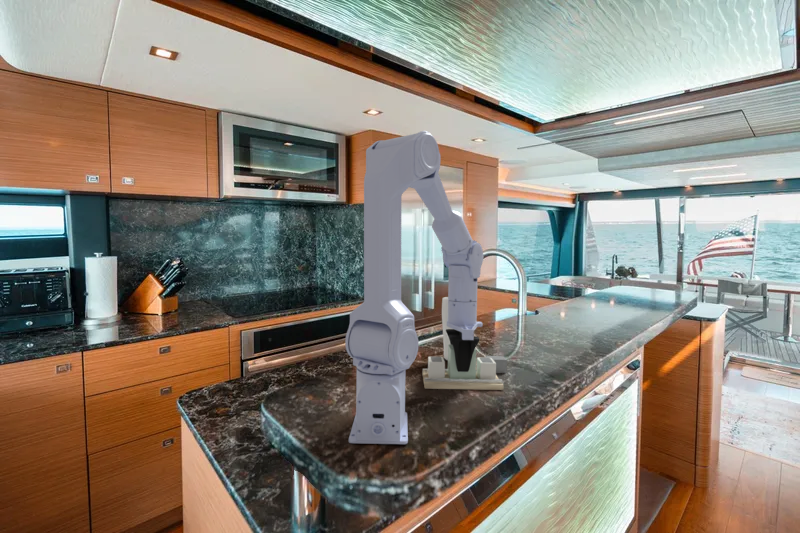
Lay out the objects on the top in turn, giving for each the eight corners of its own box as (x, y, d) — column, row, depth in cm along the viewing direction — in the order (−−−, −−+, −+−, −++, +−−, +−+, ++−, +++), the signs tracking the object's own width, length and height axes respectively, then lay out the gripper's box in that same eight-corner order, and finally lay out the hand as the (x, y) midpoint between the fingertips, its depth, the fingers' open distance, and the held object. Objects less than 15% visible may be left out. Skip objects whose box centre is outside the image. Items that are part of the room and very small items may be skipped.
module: (475, 380, 74) (476, 349, 73) (450, 379, 74) (450, 348, 73) (471, 373, 78) (472, 344, 77) (447, 373, 78) (448, 343, 77)
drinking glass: (435, 359, 91) (436, 298, 91) (451, 354, 96) (452, 296, 96) (458, 365, 87) (459, 300, 86) (474, 359, 92) (475, 298, 91)
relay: (506, 373, 82) (506, 359, 82) (488, 373, 82) (488, 359, 82) (503, 369, 85) (503, 356, 85) (485, 368, 85) (485, 355, 85)
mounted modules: (495, 381, 74) (496, 362, 73) (429, 379, 74) (429, 361, 74) (490, 374, 78) (491, 357, 77) (427, 373, 78) (428, 356, 78)
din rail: (502, 383, 72) (502, 380, 72) (424, 381, 72) (424, 378, 72) (494, 372, 79) (494, 369, 79) (422, 371, 79) (422, 368, 79)
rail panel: (503, 389, 72) (503, 384, 72) (424, 388, 72) (424, 383, 72) (493, 376, 80) (493, 371, 80) (422, 374, 80) (422, 370, 80)
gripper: (491, 305, 68) (489, 380, 68) (475, 296, 82) (474, 357, 83) (451, 305, 68) (450, 379, 68) (443, 296, 82) (442, 357, 83)
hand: (461, 367), depth 76 cm, fingers closed on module, 4 cm apart
